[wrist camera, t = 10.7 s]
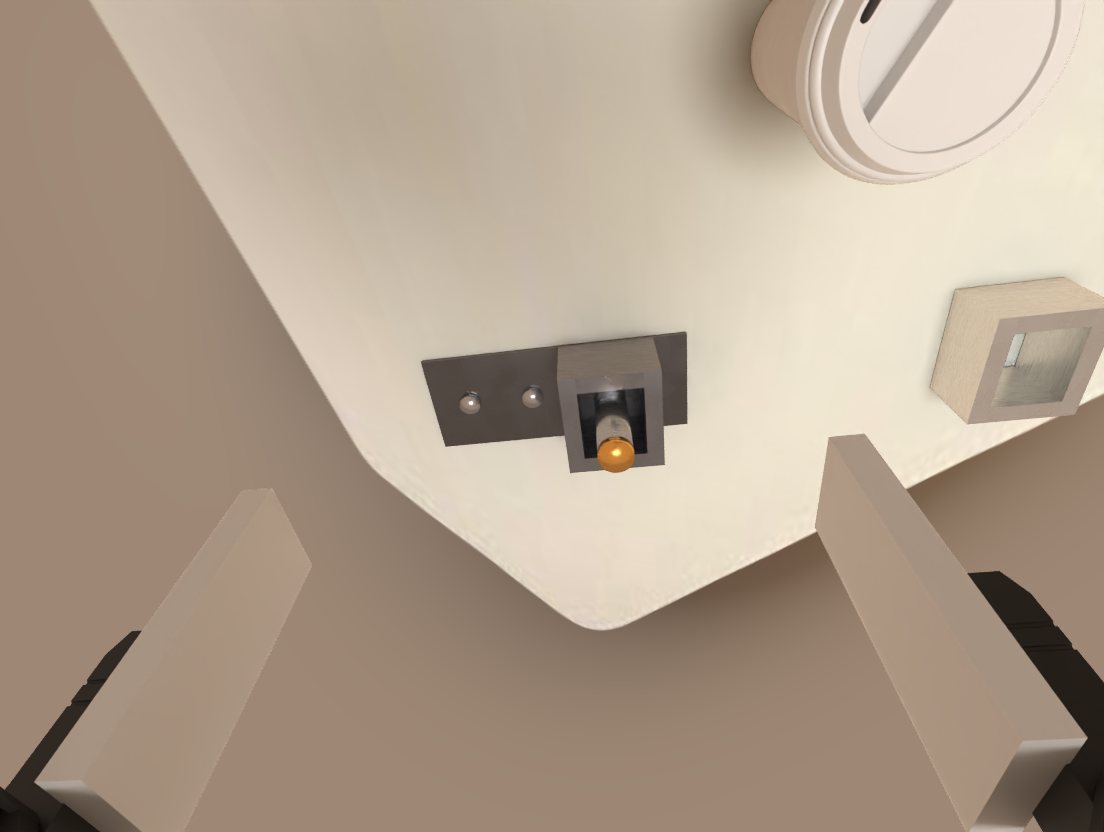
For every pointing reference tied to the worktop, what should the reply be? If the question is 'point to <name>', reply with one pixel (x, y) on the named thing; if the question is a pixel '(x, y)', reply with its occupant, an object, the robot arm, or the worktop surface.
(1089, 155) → the worktop surface
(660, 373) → the grey hollow block
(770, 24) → the coffee cup
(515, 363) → the keeper
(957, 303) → the link
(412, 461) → the worktop surface
